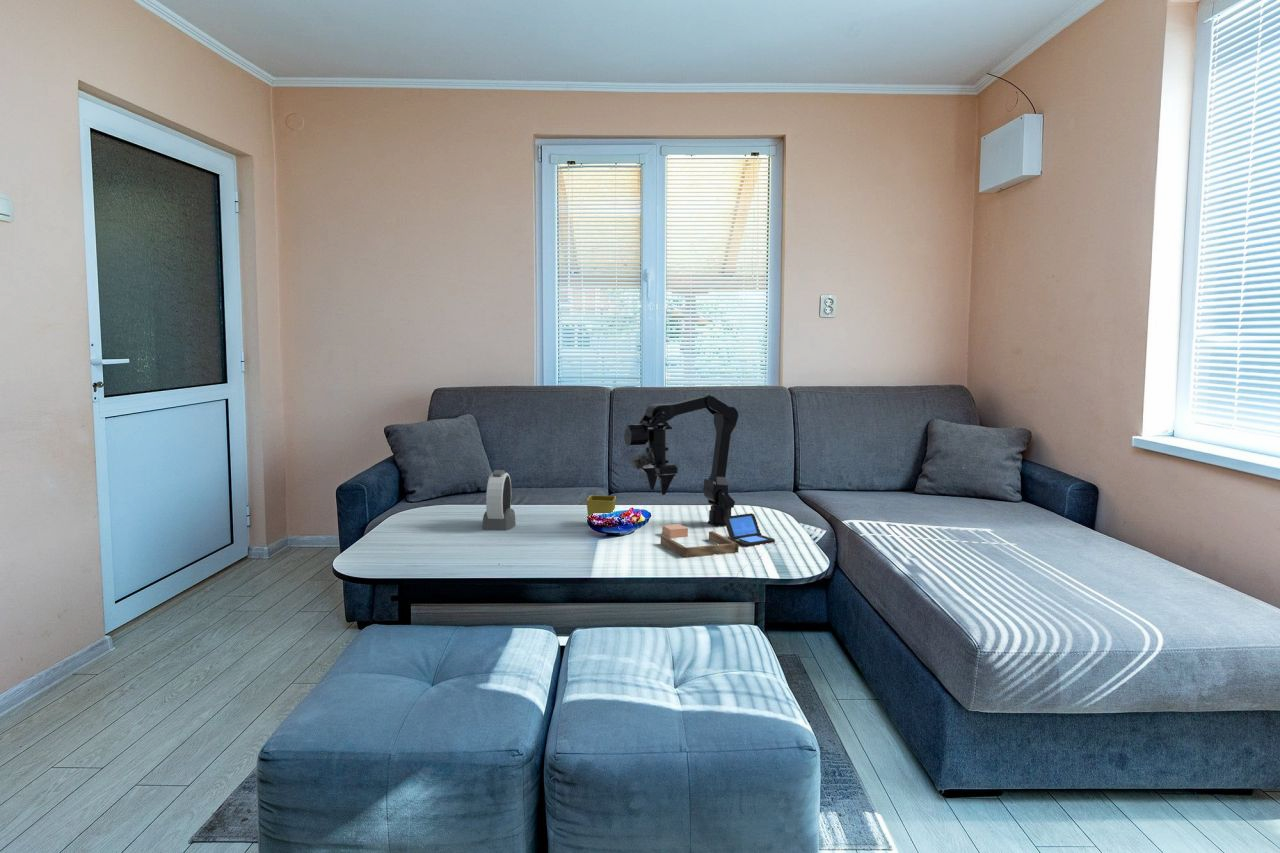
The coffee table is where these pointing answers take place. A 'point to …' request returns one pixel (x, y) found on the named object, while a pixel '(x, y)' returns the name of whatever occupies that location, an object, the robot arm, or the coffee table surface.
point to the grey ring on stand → (498, 503)
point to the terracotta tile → (674, 531)
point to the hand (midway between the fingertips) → (657, 492)
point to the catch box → (722, 548)
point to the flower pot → (600, 504)
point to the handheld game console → (745, 530)
